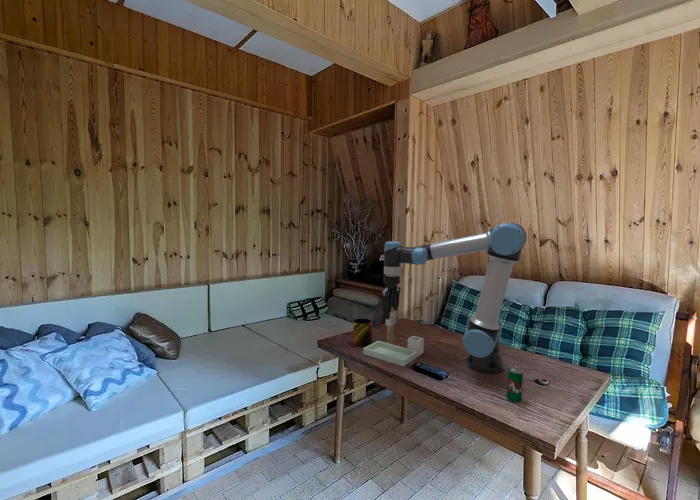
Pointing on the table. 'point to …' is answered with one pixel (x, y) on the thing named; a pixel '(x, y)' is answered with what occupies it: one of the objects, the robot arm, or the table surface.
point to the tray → (390, 353)
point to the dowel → (390, 328)
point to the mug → (362, 332)
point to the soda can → (514, 383)
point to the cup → (416, 344)
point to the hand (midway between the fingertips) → (390, 324)
